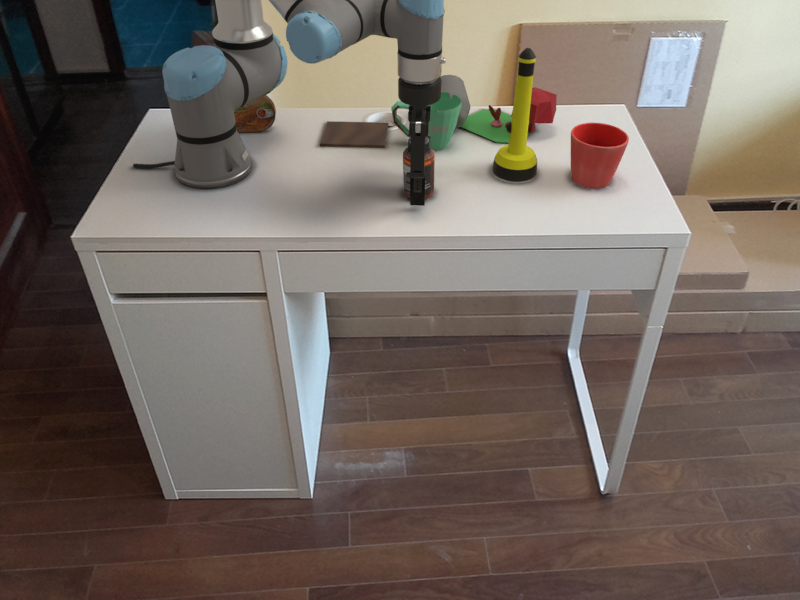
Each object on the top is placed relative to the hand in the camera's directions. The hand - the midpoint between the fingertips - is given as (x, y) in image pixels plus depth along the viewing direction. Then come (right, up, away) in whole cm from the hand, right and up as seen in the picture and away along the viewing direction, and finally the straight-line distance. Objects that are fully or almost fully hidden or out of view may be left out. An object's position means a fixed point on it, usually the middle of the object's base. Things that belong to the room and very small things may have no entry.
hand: (418, 188), depth 132 cm
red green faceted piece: (+21, +17, +22) cm, 35 cm away
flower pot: (+34, +2, +4) cm, 35 cm away
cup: (+7, +17, +18) cm, 26 cm away
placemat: (-14, +15, +20) cm, 28 cm away
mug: (+2, +12, +16) cm, 20 cm away
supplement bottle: (0, -1, +1) cm, 1 cm away
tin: (-39, +17, +23) cm, 48 cm away
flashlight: (+19, +4, +7) cm, 21 cm away
